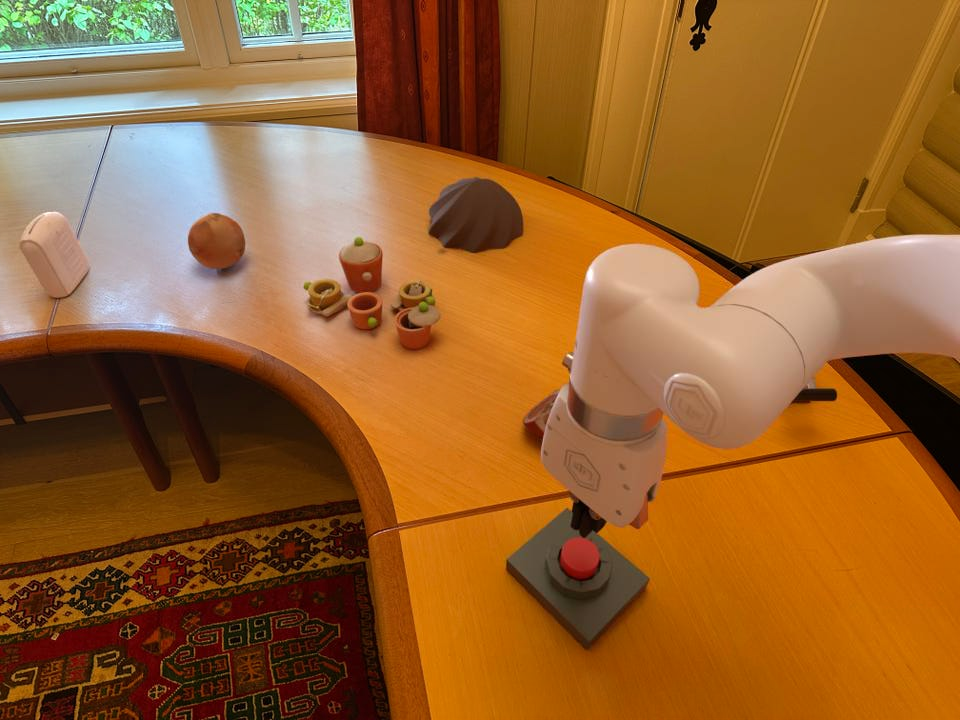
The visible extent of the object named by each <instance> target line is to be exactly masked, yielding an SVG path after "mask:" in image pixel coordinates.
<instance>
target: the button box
mask: <svg viewBox="0 0 960 720" xmlns="http://www.w3.org/2000/svg"><path fill="white" fill-rule="evenodd" d="M572 516H573V513H572V509H570V508H569V507H566V508H565V509H564V510H562V511H561V512H560V513H559V514H558V515H556V516H555V517H554V518H552V519H551V520H550V522H548V523H547V524H546V525H544V527H542V528H541V529H540V530H539V531H538V532H536V533H535V534H534V535H533V536H532V537H531V538H530V539H528V540H527V541H526V542H524V544H523V545H521V546H520V547H519V548H518V549H517V550H516V551H514V552H513V553H511V555H510V556H508V557H507V558H506V559H505V570H506V571H507V572H508V573H509V574H510V575H511V576H512V577H513V578H514V579H515V580H516V581H517V582H518V583H519V584H520V585H521V586H522V587H523V588H524V589H525V590H526V591H527V593H529V594H530V595H531V596H532V597H533V598H534V599H535V600H536V601H537V602H538V603H539V604H540V605H541V606H542V607H543V608H544V609H545V610H546V611H547V612H548V613H549V614H550V615H551V616H552V617H553V618H554V619H555V620H556V621H557V622H558V623H559V624H560V625H561V627H563V629H565V630H566V631H567V632H568V633H569V635H571V636H572V637H573V638H574V639H575V641H576V642H577V643H579V645H580V646H582V647H583V648H584V650H586V651H588V650H589V649H590V648H591V647H592V646H593V645H594V644H595V643H596V642H597V640H599V638H600V637H602V636H603V634H604V633H605V632H606V631H607V630H608V629H609V628H610V627H611V626H612V625H613V624H614V623H615V622H616V621H617V620H618V619H619V618H620V617H621V616H622V614H623V613H624V612H625V611H626V610H627V609H628V608H629V607H630V606H631V605H632V604H633V603H634V602H635V601H636V600H637V599H638V598H639V597H640V595H642V593H643V592H645V590H646V589H647V587H648V586H649V585H648V584H649V582H650V580H651V578H650V577H649V576H648V575H646V574H645V573H644V572H643V571H642V570H640V569H639V567H637V566H636V565H635V564H634V563H632V561H630V560H629V559H628V558H626V556H624V554H622V553H621V552H620V551H618V550H617V549H616V548H615V546H612V544H610V543H609V542H608V541H607V540H606V539H605V538H603V537H602V536H601V535H600V534H598V533H595V532H594V531H592V532H591V533H590V534H589V535H588V536H587V537H585V539H588V540H590V541H591V542H592V543H594V544H595V546H596V547H597V549H598V551H599V555H600V559H599V563H598V567H597V570H596V572H595V573H594V575H592V576H591V577H590V578H587V579H575V578H572V577H570V576H569V575H567V574H566V573H565V571H564V570H563V569H562V566H561V563H560V557H561V552H562V548H563V545H564V544H565V543H566V542H567V541H568V540H570V539H572V538H576V537H581V538H583V537H582V536H580V533H579V530H578V531H577V530H574V529H572V528H571V521H572Z"/></svg>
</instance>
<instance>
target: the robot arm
mask: <svg viewBox="0 0 960 720" xmlns="http://www.w3.org/2000/svg"><path fill="white" fill-rule="evenodd" d="M584 277H585V278H584V281H583V287H582V294H581V301H580V307H579V315H578V321H577V329H576V333H575V342H574V350H573V352H572V351H569V352H568V353H567V354H566V355H565V356H564V357H563V358H562V361H561V364H562V366H563V367H565V368H566V369H567V371H568V373H569V378H568V379H569V381H568V382H566V383H564V384H563V386H561V390H560V392H559V394H558V396H557V398H556V400H555V402H554V405H553V407H552V410H551V412H550V415H549V418H548V421H547V425H546V428H545V432H544V437H543V438H542V443H541V448H540V449H541V450H540V460H541V464H542V466H543V467H544V469H545V470H546V471H547V473H548V474H550V475H551V477H553V478H554V479H555V480H556V481H558V483H560V484H561V485H562V486H563V487H564V488H565V489H566V490H567V491H568V496H569V498H570V500H571V501H572V507H571V511H572V513H573V516H572V521H571V528H572V529H574V530H577V531H578V530H579V533H580V536H582V537H583V538H585V537H587V536H588V535H589V534H590V533H591V532H592V531H594V532H595V533H597V534H598V533H600V531H602V529H603V528H604V527H605V526H606V524H607V523H609V524H610V525H613V526H614V527H618V528H626V527H627V526H631V527H632V528H634V529H635V530H640V529H641V528H642V527H643V526H644V525H645V524H646V523H647V522H648V521H649V503H652V502H653V501H654V500H655V498H656V497H657V494H658V492H659V489H660V486H661V481H662V477H663V474H664V469H665V463H666V458H667V446H668V423H667V421H666V420H665V419H664V418H663V416H664V415H665V416H666V417H667V418H668V419H669V420H670V421H671V422H672V423H673V424H674V425H675V426H677V427H678V428H679V429H680V430H681V431H683V432H684V433H685V434H686V435H688V436H689V437H691V438H692V439H694V440H696V441H697V442H699V443H702V444H704V445H706V446H708V447H710V448H715V449H721V450H733V449H740V448H742V447H745V446H747V445H750V444H751V443H754V441H756V440H757V439H758V438H760V437H761V436H762V435H763V434H765V433H766V431H767V430H768V429H769V428H770V427H771V426H772V425H773V424H774V422H776V420H777V419H778V418H779V417H781V414H782V413H784V411H785V410H786V409H787V408H788V407H789V406H790V404H791V403H793V402H792V401H793V400H794V399H795V397H796V396H797V395H798V394H799V393H800V391H801V390H802V389H803V388H804V387H805V386H806V385H807V384H808V383H809V381H810V380H811V379H812V378H813V377H814V378H815V376H816V375H817V374H818V373H819V371H820V370H821V369H822V368H823V367H824V366H825V365H826V364H827V363H828V362H830V361H834V360H839V359H846V358H854V357H855V358H856V357H864V356H865V357H866V356H876V355H878V356H879V355H887V354H889V355H890V354H908V353H909V354H928V355H929V354H930V355H938V356H943V357H944V356H945V357H948V358H952V359H956V360H960V234H905V235H904V234H903V235H896V236H895V235H894V236H887V237H881V238H873V239H870V240H866V241H861V242H855V243H851V244H847V245H843V246H839V247H835V248H830V249H826V250H822V251H818V252H814V253H809V254H805V255H801V256H797V257H793V258H789V259H785V260H782V261H779V262H775V263H772V264H771V265H770V264H769V265H768V266H766V267H763V268H761V269H759V270H756V271H754V272H753V273H751V274H750V275H748V276H746V277H745V278H743V279H742V280H741V281H740V282H738V283H736V284H735V285H734V286H733V287H731V288H730V289H729V290H728V291H727V292H725V293H724V294H722V296H720V297H719V298H718V299H717V300H716V301H715V302H713V304H711V305H710V306H707V307H706V306H705V307H701V306H699V305H698V303H699V299H700V281H699V278H698V275H697V272H696V271H695V270H694V268H693V267H692V266H691V264H690V263H689V262H688V261H687V260H685V259H684V258H683V257H682V256H680V255H679V254H677V253H675V252H673V251H671V250H668V249H666V248H664V247H660V246H657V245H652V244H646V243H628V244H622V245H617V246H614V247H610V248H609V249H606V250H605V251H603V252H601V253H600V254H599V255H598V256H597V257H595V258H594V259H593V261H592V262H591V263H590V265H589V267H588V268H587V270H586V273H585V276H584Z"/></svg>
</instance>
